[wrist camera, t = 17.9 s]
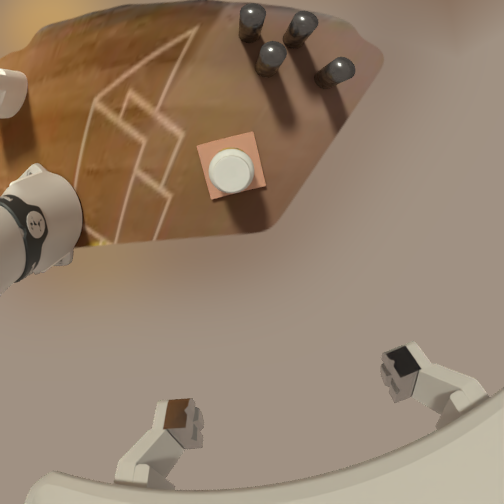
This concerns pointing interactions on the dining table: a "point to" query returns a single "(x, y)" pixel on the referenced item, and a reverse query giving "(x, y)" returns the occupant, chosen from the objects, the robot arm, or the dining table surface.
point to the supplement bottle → (231, 170)
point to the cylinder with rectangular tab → (12, 92)
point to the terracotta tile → (238, 141)
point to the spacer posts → (289, 45)
